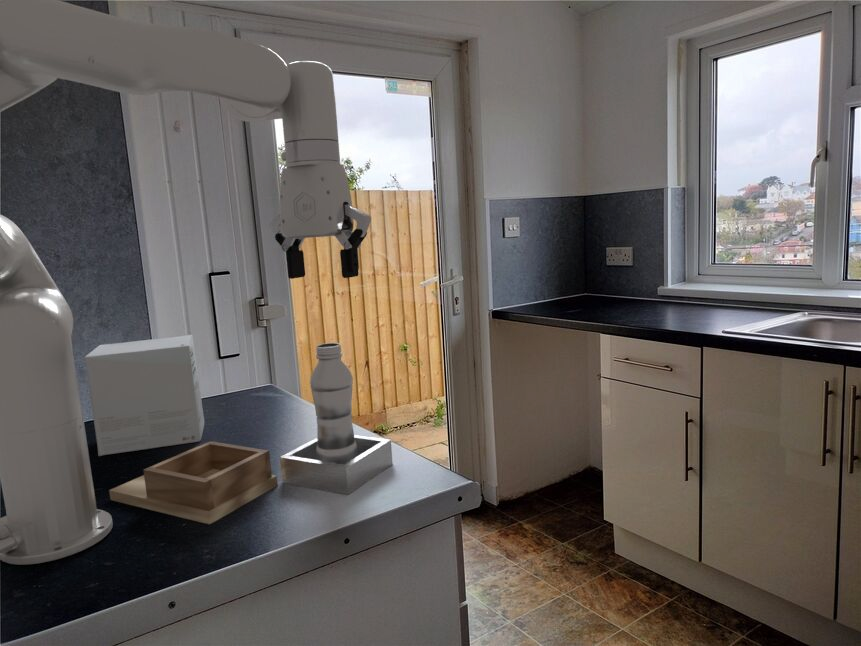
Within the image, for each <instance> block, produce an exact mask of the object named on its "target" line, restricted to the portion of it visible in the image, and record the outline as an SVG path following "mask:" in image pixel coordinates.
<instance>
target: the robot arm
mask: <svg viewBox="0 0 861 646" xmlns="http://www.w3.org/2000/svg"><path fill="white" fill-rule="evenodd" d="M58 79H61V80H67V81H71V82H74V83H80V84H85V85H88V86H92V87H97V88H101V89H104V90H109V91H112V92H117V93H121V94H125V95H132V96H147V95H154V94H158V93H165V92H187V93H194V94H195V93H197V94H201V95H207V96H212V97H216V98H218V99H219V102H220V104H221V106H222V108H223V109H224V110H225V111H226V112H227V113H228V115H230V116H231V117H233V118H235V119H237V120H238V121H243V122H246V123H256V122H264V121H271V120H279V119H280V120H281V119H282V120H281V121H282V130H283V140H284V152H281V156H280V157H281V160H282V161H283V162H286V167H284V168H282V170H281V176H280V185H279V212H280V213H279V215H277V216H276V217H275V218H274V219H272V220H271V221H270V222H269V227H270V229H271V232H272V233H273V235H274V239H275V241H276V242H277V243H278V244H279V245H280V246H281V250H282V252H285V256H286V270H287V277H288V278H289V279H291V280H292V279H299V278H300V279H301V278H304V277H305V276H306V267H305V265H306V264H305V257H304V256H305V255H304V251H303V249H302V250H301V249H300V248H301V246H302V245H303V243H304V242H305V239H307V238H324V237H333V236H334V237H335V238H336V240H337V241H338V243H340V245H341V246H342V247H343V248H342V249H340V252H339V255H340V265H341V266H340V268H341V277H343V279H348V278H349V279H350V278H355V277H358V276H359V269H360V264H359V252H358V251H359V250H358V249H359V248H360V247H361V246H362V242H363V241H364V240H365V238H366V237H367V235H368V232H367V231H368V229H369V227H370V224H371V221H372V217H371V215H370V214H368V213H366V212H364V211H363V210H360V209H358V208H356V207H354V206H353V202H352V196H351V190H350V184H349V180H348V176H347V171H346V168H345V166H344V164H342V163H341V158H340V157H341V156H340V143H339V131H338V129H339V128H338V116H337V106H336V105H337V103H336V92H335V90H336V89H335V81H334V80H335V79H334V74H333V71H332V69H331V68H330V67H329V66H328V65H326V64H324V63H323V62H319V61H313V60H312V61H311V60H301V61H293V62H290V63H287V64H286V62H285V61H284V59H283V58H282V57H281V56H280V55H278V54H277V52H274V51H273V50H272V49H270V48H268V47H266V46H263V45H261V44H259V43H256V42H252V41H249V40H248V39H247V40H246V39H244V38H243V39H242V38H240V37H237V36H236V37H235V36H233V35H229V34H226V33H221V32H218V31H215V30H210V29H206V28H205V29H204V28H198V27H189V26H182V25H181V26H179V25H169V24H161V23H146V22H145V23H144V22H138V21H135V20H134V21H133V20H130V19H126V18H122V17H120V16H115V15H113V14H108V13H105V12H101V11H98V10H94V9H91V8H86V7H84V6H79V5H75V4H72V3H70V2H66V1H63V0H0V113H2V112H3V111H5V110H7V109H9V108H10V107H12V106H14V105H16V104H18V103H20V102H22V101H23V100H25V99H28V98H30V97H32V96H33V95H35V94H36V93H38V92H40V91H41V90H43V89H44V88H47V86H49V85H50V84H52V83H54V82H55V81H56V80H58ZM354 221H356V226H355V227H356V228H355V229H354V225H355V224H354ZM73 329H74V317H73V312H72V309H71V308H70V306H69V303H68V302H67V300H66V299H65V297H64V296H63V294H62V292H61V291H60V289H59V287H58V286H57V284H56V282H55V281H54V279H53V278H52V276H51V275H50V273H49V271H48V270H47V268H46V266H45V265H44V264H43V262H42V260H41V258H40V257H39V255H38V254H37V252H36V251H35V249H34V246H32V244H31V242H30V241H29V239H28V238H27V236H26V234H24V233H23V231H22V230H21V228H20V227H18V225H17V224H15V222H14V221H12V220H11V219H9V218H8V217H6V216H5V215H2V214H1V213H0V485H1V490H2V497H3V501H4V508H5V513H6V515H4V516H2V517H0V561H2V562H4V563H7V564H10V565H18V566H19V565H20V566H22V565H25V566H26V565H36V564H43V563H47V562H49V563H50V562H52V561H56V560H60V559H63V558H64V559H65V558H66V557H70V556H73V555H74V554H78V553H79V552H82V551H84V550H85V551H86V550H87V549H88V548H90V547H92V546H94V545H95V544H97V543H99V542H100V541H102V540H103V539H104V538H105V537H107V535H109V533H110V532H111V531H112V528H113V527H114V526H113V525H114V524H113V523H114V522H113V518H112V514H110V513H109V512H107V511H106V510H103V509H98V508H97V501H96V496H95V495H96V494H95V488H94V481H93V475H92V468H91V461H90V453H89V447H88V441H87V434H86V427H85V421H84V414H83V408H82V407H83V406H82V401H81V395H80V393H81V392H80V389H79V383H78V375H77V370H76V364H75V358H74V349H73V343H72V333H73Z"/></svg>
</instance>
